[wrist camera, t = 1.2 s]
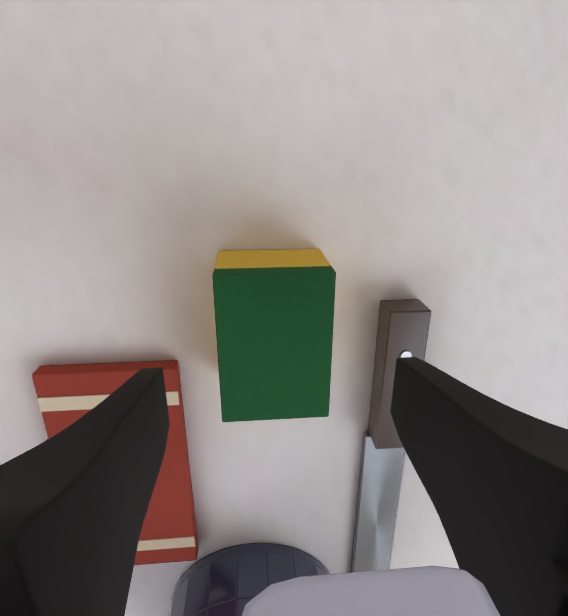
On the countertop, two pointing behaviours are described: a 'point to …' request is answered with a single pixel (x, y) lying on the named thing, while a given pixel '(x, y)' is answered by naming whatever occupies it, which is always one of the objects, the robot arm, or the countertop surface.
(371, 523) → the knife
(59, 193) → the countertop surface
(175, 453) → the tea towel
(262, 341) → the sponge
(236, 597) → the pot
